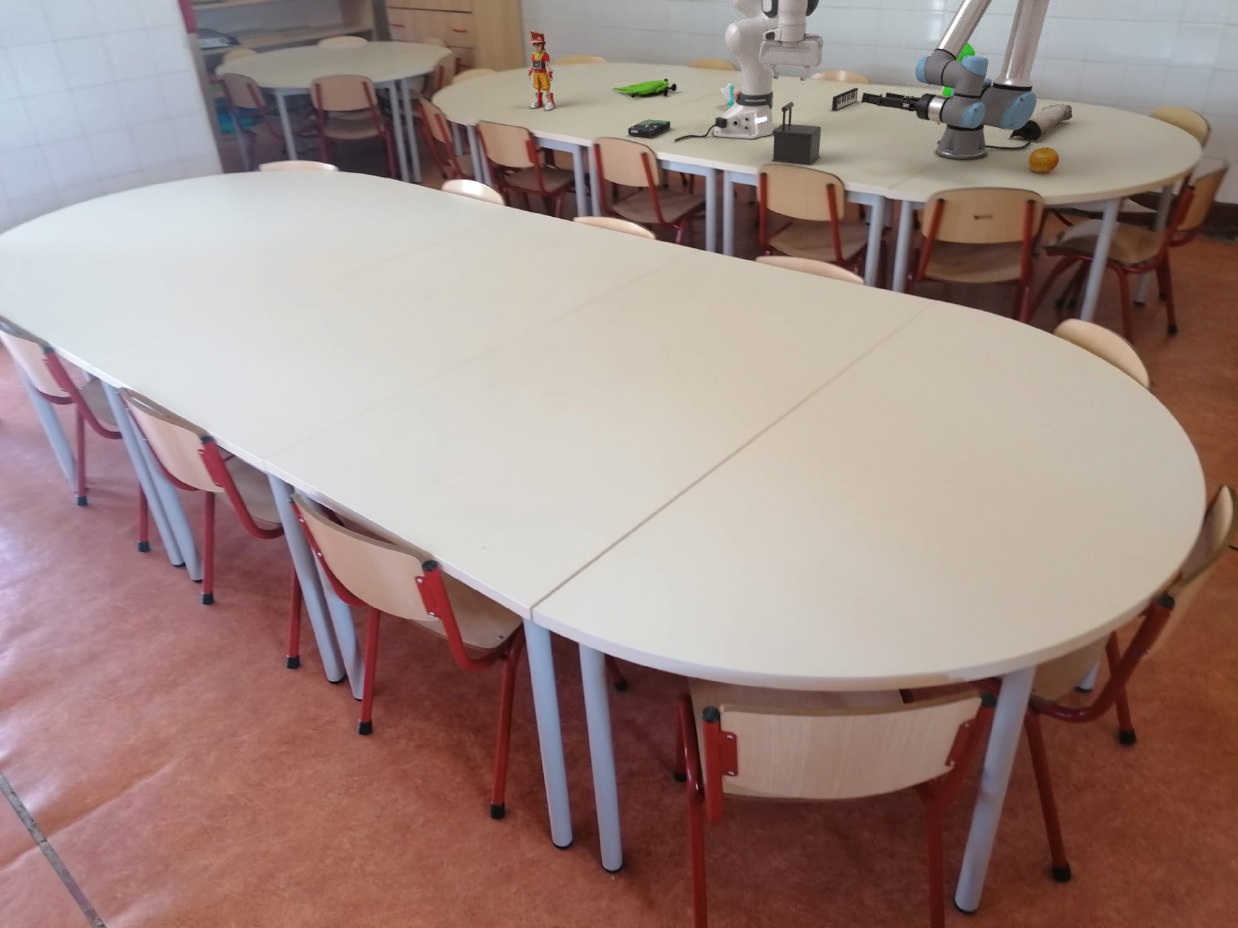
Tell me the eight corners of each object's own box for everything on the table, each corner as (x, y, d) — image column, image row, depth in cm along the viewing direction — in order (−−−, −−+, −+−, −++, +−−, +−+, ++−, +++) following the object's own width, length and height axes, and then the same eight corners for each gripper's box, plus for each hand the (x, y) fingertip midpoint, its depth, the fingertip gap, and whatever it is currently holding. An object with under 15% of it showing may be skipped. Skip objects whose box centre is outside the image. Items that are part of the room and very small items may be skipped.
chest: (772, 161, 304) (774, 134, 298) (782, 153, 310) (784, 126, 305) (809, 164, 298) (811, 137, 293) (818, 156, 305) (820, 129, 300)
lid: (772, 133, 299) (773, 107, 294) (782, 126, 306) (783, 100, 301) (811, 137, 293) (813, 110, 288) (820, 129, 300) (822, 103, 295)
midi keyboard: (834, 110, 353) (835, 97, 350) (831, 110, 354) (832, 97, 351) (857, 101, 364) (858, 88, 361) (854, 101, 364) (855, 88, 361)
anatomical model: (716, 82, 367) (740, 75, 367) (721, 107, 373) (744, 101, 372) (722, 90, 355) (747, 83, 354) (727, 117, 361) (751, 110, 360)
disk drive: (651, 138, 334) (670, 128, 344) (651, 131, 332) (670, 120, 342) (627, 136, 339) (647, 125, 349) (627, 128, 337) (647, 118, 347)
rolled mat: (1039, 109, 327) (1064, 92, 319) (1053, 130, 328) (1078, 113, 320) (1005, 132, 310) (1030, 114, 302) (1020, 154, 310) (1045, 137, 302)
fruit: (1023, 163, 276) (1041, 139, 273) (1022, 165, 284) (1039, 142, 281) (1047, 178, 275) (1065, 155, 272) (1044, 180, 283) (1062, 157, 280)
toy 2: (686, 85, 398) (631, 84, 414) (685, 72, 395) (629, 72, 411) (651, 104, 381) (596, 103, 397) (650, 92, 378) (594, 91, 394)
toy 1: (525, 109, 381) (517, 32, 364) (534, 104, 388) (527, 28, 371) (550, 110, 377) (543, 32, 360) (559, 105, 384) (553, 28, 367)
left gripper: (826, 32, 282) (823, 79, 290) (765, 30, 290) (763, 76, 298) (820, 36, 277) (816, 83, 285) (758, 34, 286) (756, 80, 294)
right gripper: (909, 122, 270) (850, 110, 283) (950, 119, 285) (892, 108, 298) (915, 95, 266) (855, 84, 279) (956, 94, 282) (897, 84, 295)
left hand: (789, 79), depth 292 cm, fingers open, 8 cm apart
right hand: (874, 97), depth 289 cm, fingers open, 13 cm apart
